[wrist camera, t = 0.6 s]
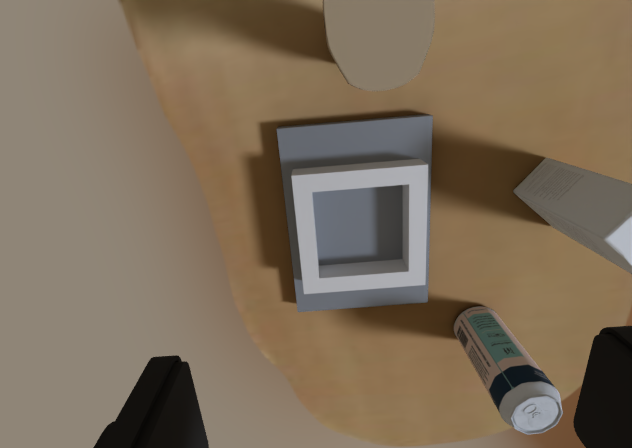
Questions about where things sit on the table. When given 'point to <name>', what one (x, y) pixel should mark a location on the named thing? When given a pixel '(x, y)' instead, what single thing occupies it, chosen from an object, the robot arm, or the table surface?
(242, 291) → the table surface
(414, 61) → the handle
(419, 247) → the socket board
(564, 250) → the table surface
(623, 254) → the skincare box
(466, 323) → the beer can
